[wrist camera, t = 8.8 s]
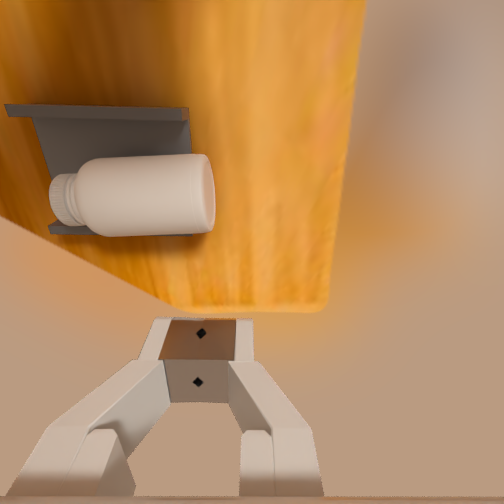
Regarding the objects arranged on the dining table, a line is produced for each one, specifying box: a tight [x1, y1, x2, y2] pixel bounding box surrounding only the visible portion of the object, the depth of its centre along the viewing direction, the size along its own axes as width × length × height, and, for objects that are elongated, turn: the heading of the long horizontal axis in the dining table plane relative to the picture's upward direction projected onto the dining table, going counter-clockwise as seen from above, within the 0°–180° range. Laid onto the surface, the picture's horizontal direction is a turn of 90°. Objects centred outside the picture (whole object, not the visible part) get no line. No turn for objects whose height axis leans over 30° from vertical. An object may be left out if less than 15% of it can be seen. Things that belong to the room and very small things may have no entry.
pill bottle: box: [49, 154, 215, 237], centre depth 29 cm, size 8×8×15 cm
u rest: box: [4, 104, 194, 236], centre depth 30 cm, size 13×16×4 cm
